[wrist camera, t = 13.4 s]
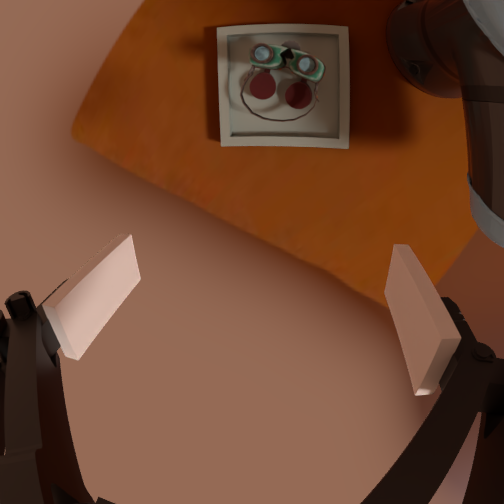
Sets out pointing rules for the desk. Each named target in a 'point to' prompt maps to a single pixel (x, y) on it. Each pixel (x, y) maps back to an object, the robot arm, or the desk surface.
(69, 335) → the robot arm
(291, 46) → the binoculars
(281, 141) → the tray
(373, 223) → the desk surface
